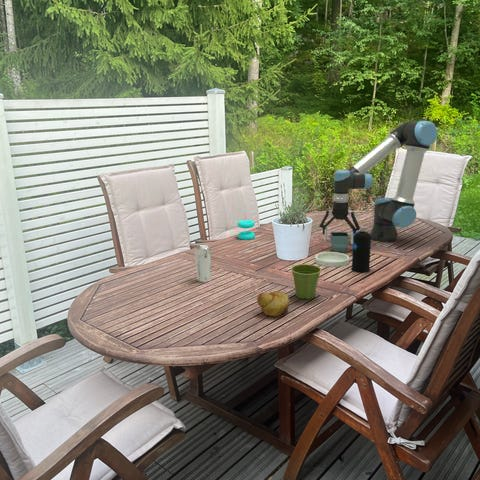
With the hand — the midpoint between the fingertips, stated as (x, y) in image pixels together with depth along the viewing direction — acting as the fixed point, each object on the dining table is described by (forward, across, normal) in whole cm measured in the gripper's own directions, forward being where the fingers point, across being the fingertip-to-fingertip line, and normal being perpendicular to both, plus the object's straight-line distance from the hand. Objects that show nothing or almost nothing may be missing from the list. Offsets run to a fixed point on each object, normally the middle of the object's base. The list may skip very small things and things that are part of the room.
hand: (338, 242), depth 227 cm
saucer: (+5, 0, -18) cm, 18 cm away
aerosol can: (+5, +15, -25) cm, 30 cm away
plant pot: (+6, 0, -63) cm, 63 cm away
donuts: (+6, -55, +8) cm, 56 cm away
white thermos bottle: (+6, -47, -60) cm, 77 cm away
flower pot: (+5, 0, 0) cm, 5 cm away
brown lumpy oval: (+6, -7, -80) cm, 81 cm away
